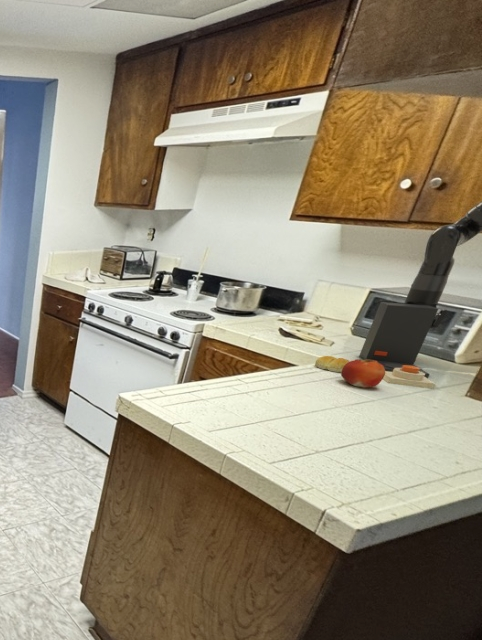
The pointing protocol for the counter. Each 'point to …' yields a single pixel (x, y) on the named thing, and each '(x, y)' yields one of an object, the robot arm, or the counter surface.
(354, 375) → the tomato
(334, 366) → the bread roll
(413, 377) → the switch block
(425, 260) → the robot arm
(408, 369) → the power button
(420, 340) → the dark grey orange-tab panel
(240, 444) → the counter surface
